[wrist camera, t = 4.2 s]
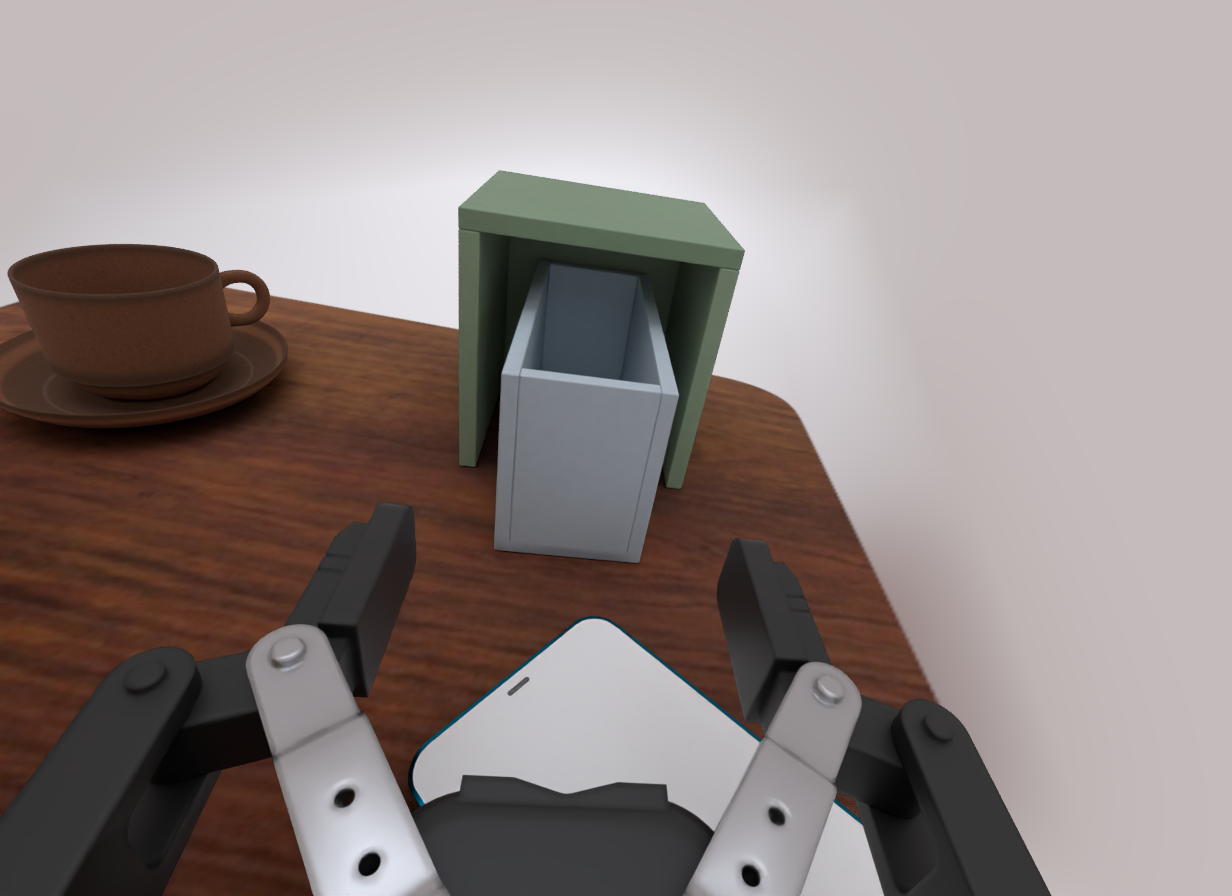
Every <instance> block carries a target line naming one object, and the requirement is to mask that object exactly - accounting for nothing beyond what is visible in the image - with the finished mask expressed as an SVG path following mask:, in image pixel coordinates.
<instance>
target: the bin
mask: <svg viewBox="0 0 1232 896" xmlns="http://www.w3.org/2000/svg"><path fill="white" fill-rule="evenodd" d="M678 398H679V393H678V390H677V386H676V382H675V378H674V374H673V370H672V366H671V362H670V358H669V354H668V350H667V346H666V342H665V338H664V334H663V330H662V326H661V322H660V318H659V314H658V310H657V306H656V302H655V298H654V294H653V290H652V286H651V282H650V278H649V275H645V274H637V273H630V272H623V271H616V270H610V269H603V268H596V267H589V266H582V265H575V264H568V263H561V262H554V261H551V262H550V261H547V260H539V263H538V266H537V269H536V272H535V275H534V278H533V281H532V284H531V287H530V290H529V293H528V296H527V299H526V302H525V305H524V308H523V311H522V314H521V317H520V320H519V323H518V326H517V329H516V332H515V335H514V338H513V341H512V344H511V347H510V350H509V353H508V356H507V359H506V362H505V365H504V368H503V371H502V374H501V395H500V418H499V441H498V465H497V488H496V512H495V535H494V549H495V550H502V551H512V552H523V553H534V554H545V555H556V556H567V557H578V558H588V559H599V560H610V561H621V562H631V563H639V561H640V557H641V553H642V549H643V544H644V540H645V536H646V532H647V528H648V523H649V519H650V515H651V511H652V507H653V502H654V498H655V494H656V490H657V486H658V481H659V477H660V473H661V469H662V465H663V461H664V456H665V452H666V448H667V444H668V440H669V435H670V431H671V427H672V423H673V419H674V414H675V410H676V406H677V402H678Z"/></svg>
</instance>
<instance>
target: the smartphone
mask: <svg viewBox="0 0 1232 896" xmlns="http://www.w3.org/2000/svg"><path fill="white" fill-rule="evenodd" d="M760 741H761V739H759V738H758V737H757V736H756V735H754V734H753V733H752V732H751V731H750V730H748V729H747V728H746V727H745V726H743V725H742V724H741V723H740V722H738V721H737V720H736V719H735V718H733V717H732V716H731V715H730V714H728V713H727V712H726V711H725V710H723V709H722V708H721V707H720V706H718V705H717V704H716V703H715V702H713V701H712V700H711V699H710V698H708V697H707V696H706V695H705V694H703V693H702V692H701V691H700V690H698V689H697V688H696V687H695V686H693V685H692V684H691V683H690V682H688V681H687V680H686V679H685V678H683V677H682V676H681V675H680V674H678V673H677V672H676V671H675V670H673V669H672V668H671V667H670V666H668V665H667V664H666V663H665V662H663V661H662V660H661V659H660V658H658V657H657V656H656V655H655V654H653V653H652V652H651V651H650V650H649V649H647V648H646V647H645V646H644V645H642V644H641V643H640V642H639V641H637V640H636V639H635V638H634V637H632V636H631V635H630V634H629V633H627V632H626V631H625V630H624V629H622V628H621V627H620V626H618V625H617V624H615V623H614V622H612V621H611V620H609V619H607V618H603V617H598V616H589V617H584V618H581V619H579V620H578V621H576V622H574V623H573V624H572V625H570V626H569V627H568V628H567V629H565V630H564V631H563V632H562V633H560V634H559V635H558V636H557V637H556V638H554V639H553V640H552V641H551V642H549V643H548V644H547V645H546V646H544V647H543V648H542V649H541V650H539V651H538V652H537V653H536V654H534V655H533V656H532V657H531V658H529V659H528V660H527V661H526V662H524V663H523V664H522V665H521V666H519V667H518V668H517V669H516V670H514V671H513V672H512V673H511V674H510V675H508V676H507V677H506V678H505V679H503V680H502V681H501V682H500V683H498V684H497V685H496V686H495V687H493V688H492V689H491V690H490V691H488V692H487V693H486V694H485V695H483V696H482V697H481V698H480V699H478V700H477V701H476V702H475V703H473V704H472V705H471V706H470V707H468V708H467V709H466V710H465V711H464V712H462V713H461V714H460V715H459V716H457V717H456V718H455V719H454V720H452V721H451V722H450V723H449V724H447V725H446V726H445V727H444V728H442V729H441V730H440V731H439V732H437V733H436V734H435V735H434V736H432V737H431V738H430V739H429V740H427V741H426V742H425V743H424V744H423V745H422V746H421V747H420V748H419V749H418V751H417V752H416V754H415V755H414V757H413V760H412V762H411V765H410V768H409V774H408V786H409V797H410V802H411V805H412V806H413V808H414V810H416V809H418V808H419V807H421V806H422V805H424V804H426V803H428V802H430V801H432V800H434V799H436V798H438V797H441V796H443V795H446V794H449V793H453V792H457V791H460V786H461V781H462V776H463V775H479V776H500V777H515V778H518V779H521V780H524V781H527V782H530V783H533V784H536V785H539V786H542V787H545V788H548V789H551V790H554V791H557V792H560V793H564V794H569V793H574V792H578V791H583V790H587V789H591V788H595V787H599V786H604V785H608V784H612V783H616V782H627V783H648V784H667V794H668V801H670V802H673V803H675V804H677V805H679V806H681V807H683V808H685V809H687V810H689V811H690V812H692V813H693V814H695V815H696V816H698V817H699V818H700V819H701V820H702V821H704V822H705V823H706V824H707V825H708V826H709V827H710V828H711V829H712V830H713V831H714V830H715V828H716V826H717V824H718V823H719V821H720V819H721V817H722V815H723V813H724V811H725V809H726V807H727V805H728V803H729V801H730V800H731V798H732V796H733V794H734V792H735V790H736V788H737V786H738V784H739V782H740V780H741V778H742V776H743V774H744V772H745V770H746V768H747V767H748V765H749V763H750V761H751V759H752V757H753V755H754V753H755V751H756V749H757V747H758V745H759V743H760ZM800 896H884V894H883V891H882V887H881V884H880V881H879V878H878V874H877V871H876V868H875V864H874V861H873V858H872V855H871V851H870V848H869V845H868V841H867V838H866V835H865V832H864V828H863V825H862V822H861V820H860V819H859V818H858V817H857V816H856V815H854V814H853V813H852V812H851V811H849V810H848V809H847V808H846V807H844V806H843V805H842V804H841V803H839V802H838V801H837V800H836V799H834V802H833V805H832V808H831V810H830V813H829V816H828V819H827V822H826V825H825V827H824V830H823V833H822V836H821V839H820V842H819V844H818V847H817V850H816V853H815V856H814V859H813V861H812V864H811V867H810V870H809V873H808V876H807V878H806V881H805V884H804V887H803V890H802V893H801V895H800Z"/></svg>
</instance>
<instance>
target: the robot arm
mask: <svg viewBox="0 0 1232 896" xmlns="http://www.w3.org/2000/svg"><path fill="white" fill-rule="evenodd" d="M415 562H416V539H415V522H414V509H413V507H412V506H408V505H398V504H387V503H379V504H378V506H377V507H376V509H375V511H374V513H373V515H372V517H371V519H370V521H369V523H358V522H353V523H352V524H350V525H349V526H348V527H347V528H345V529H344V530H343V531H342V532H340V533H339V534H338V535H337V536H335V538H334V540H333V542H332V543H331V545H330V547H329V549H328V550H327V552H326V556H325V557H323V559H322V561H321V563H320V564H319V566H318V570H317V571H315V573H314V575H313V577H312V578H311V580H310V582H309V584H308V585H307V587H306V589H305V591H304V592H303V594H302V596H301V598H300V599H299V601H298V603H297V605H296V606H295V608H294V610H293V612H292V613H291V615H290V617H289V619H288V620H287V622H286V624H285V625H284V627H282V628H279V629H277V630H275V631H273V632H271V633H269V634H267V635H266V636H264V637H263V638H262V639H260V640H259V641H258V642H257V643H256V644H255V645H254V647H253V648H252V649H251V650H249V651H246V652H243V653H239V654H234V655H229V656H224V657H219V658H214V659H208V660H203V661H198V662H195V660H194V658H193V657H192V655H191V654H190V653H189V652H188V651H186V650H184V649H181V648H177V647H160V648H154V649H150V650H147V651H144V652H141V653H138V654H136V655H134V656H132V657H130V658H128V659H127V660H125V661H123V662H122V663H120V664H119V665H118V666H116V667H115V668H114V669H113V670H112V671H111V672H110V673H108V675H107V676H106V677H105V678H104V679H103V681H102V682H101V683H100V685H99V686H98V687H97V689H96V690H95V691H94V693H93V694H92V695H91V697H90V698H89V699H88V701H87V702H86V703H85V705H84V706H83V707H82V709H81V710H80V712H79V713H78V714H77V716H76V717H75V718H74V720H73V721H72V722H71V724H70V725H69V726H68V728H67V729H66V730H65V732H64V733H63V734H62V736H61V737H60V738H59V740H58V741H57V742H56V744H55V745H54V746H53V748H52V749H51V750H50V752H49V753H48V755H47V756H46V757H45V759H44V760H43V761H42V763H41V764H40V765H39V767H38V768H37V769H36V771H35V772H34V773H33V775H32V776H31V777H30V779H29V780H28V781H27V783H26V784H25V785H24V787H23V788H22V789H21V791H20V792H19V793H18V795H17V796H16V798H15V799H14V800H13V802H12V803H11V804H10V806H9V807H8V808H7V810H6V811H5V812H4V814H3V815H2V816H1V818H0V896H161V895H162V893H163V891H164V889H165V887H166V885H167V883H168V881H169V879H170V877H171V875H172V872H173V870H174V868H175V866H176V864H177V862H178V860H179V858H180V856H181V854H182V852H183V849H184V847H185V845H186V843H187V841H188V839H189V837H190V835H191V833H192V831H193V829H194V827H195V824H196V822H197V820H198V818H199V816H200V814H201V812H202V810H203V808H204V806H205V804H206V801H207V799H208V797H209V795H210V793H211V791H212V789H213V787H214V785H215V783H216V781H217V778H218V776H219V774H220V772H221V770H223V769H227V768H231V767H235V766H239V765H243V764H247V763H251V762H255V761H258V760H262V759H266V758H270V757H272V758H273V762H274V766H275V769H276V772H277V776H278V779H279V782H280V786H281V789H282V792H283V796H284V799H285V802H286V806H287V809H288V812H289V815H290V819H291V822H292V825H293V829H294V832H295V835H296V839H297V842H298V845H299V849H300V852H301V855H302V859H303V862H304V865H305V869H306V872H307V875H308V878H309V882H310V885H311V888H312V892H313V895H314V896H800V895H801V893H802V890H803V887H804V884H805V881H806V878H807V876H808V873H809V870H810V867H811V864H812V861H813V859H814V856H815V853H816V850H817V847H818V844H819V842H820V839H821V836H822V833H823V830H824V827H825V825H826V822H827V819H828V816H829V813H830V810H831V808H832V805H833V802H834V799H835V796H836V793H837V792H838V793H841V794H843V795H846V796H848V797H851V798H853V799H855V802H856V805H857V809H858V812H859V815H860V818H861V822H862V825H863V828H864V832H865V835H866V838H867V841H868V845H869V848H870V851H871V855H872V858H873V861H874V864H875V868H876V871H877V874H878V878H879V881H880V884H881V887H882V891H883V894H884V896H1051V894H1050V892H1049V890H1048V888H1047V886H1046V884H1045V882H1044V880H1043V878H1042V876H1041V874H1040V872H1039V871H1038V868H1037V867H1036V865H1035V863H1034V861H1033V859H1032V857H1031V855H1030V853H1029V851H1028V849H1027V847H1026V845H1025V843H1024V841H1023V839H1022V837H1021V836H1020V833H1019V831H1018V829H1017V827H1016V826H1015V823H1014V822H1013V820H1012V818H1011V816H1010V814H1009V812H1008V810H1007V808H1006V806H1005V804H1004V802H1003V800H1002V798H1001V796H1000V794H999V792H998V790H997V788H996V786H995V784H994V782H993V781H992V778H991V777H990V775H989V773H988V771H987V769H986V767H985V765H984V763H983V761H982V759H981V757H980V755H979V753H978V751H977V749H976V747H975V745H974V743H973V741H972V739H971V737H970V735H969V734H968V732H967V730H966V729H965V727H964V726H963V724H962V723H961V722H960V721H959V720H958V719H957V718H956V717H955V716H954V715H953V714H952V713H951V712H949V711H948V710H947V709H945V708H944V707H942V706H940V705H938V704H936V703H934V702H931V701H928V700H924V699H913V700H910V701H908V702H907V703H906V704H905V705H904V706H903V708H902V709H901V710H900V709H897V708H894V707H892V706H889V705H886V704H884V703H881V702H878V701H875V700H873V699H870V698H868V697H865V696H863V695H861V694H859V691H858V689H857V687H856V686H855V684H854V683H853V682H852V680H851V679H850V678H849V677H848V676H847V675H845V674H844V673H843V672H842V671H840V670H839V669H837V668H835V667H833V666H832V664H831V662H830V659H829V657H828V654H827V652H826V649H825V647H824V644H823V642H822V639H821V637H820V634H819V632H818V629H817V627H816V624H815V622H814V619H813V617H812V614H811V613H809V610H810V609H809V607H808V604H807V602H806V599H804V594H803V592H802V589H801V587H800V584H799V582H798V579H797V578H796V577H795V575H794V574H793V573H792V572H791V571H790V570H789V569H788V567H787V566H786V565H785V564H784V563H780V562H773V559H772V557H771V554H770V551H769V548H768V546H767V544H766V542H765V541H761V540H751V539H741V538H735V539H734V540H733V541H732V544H731V546H730V549H729V552H728V555H727V558H726V560H725V563H724V566H723V569H722V572H721V575H720V577H719V581H718V586H717V602H718V607H719V611H720V616H721V620H722V625H723V629H724V633H725V638H726V642H727V646H728V651H729V655H730V659H731V664H732V668H733V672H734V677H735V681H736V686H737V690H738V694H739V699H740V703H741V707H742V712H743V716H744V720H745V722H754V723H761V725H762V728H763V732H764V736H763V738H762V739H761V741H760V743H759V745H758V747H757V749H756V751H755V753H754V755H753V757H752V759H751V761H750V763H749V765H748V767H747V768H746V770H745V772H744V774H743V776H742V778H741V780H740V782H739V784H738V786H737V788H736V790H735V792H734V794H733V796H732V798H731V800H730V801H729V803H728V805H727V807H726V809H725V811H724V813H723V815H722V817H721V819H720V821H719V823H718V824H717V826H716V828H715V830H714V831H713V830H712V829H711V828H710V827H709V826H708V825H707V824H706V823H705V822H704V821H702V820H701V819H700V818H699V817H698V816H696V815H695V814H693V813H692V812H690V811H689V810H687V809H685V808H683V807H681V806H679V805H677V804H675V803H673V802H670V801H668V794H667V784H648V783H627V782H616V783H612V784H608V785H604V786H599V787H595V788H591V789H587V790H583V791H578V792H574V793H569V794H564V793H560V792H557V791H554V790H551V789H548V788H545V787H542V786H539V785H536V784H533V783H530V782H527V781H524V780H521V779H518V778H515V777H500V776H479V775H463V776H462V781H461V786H460V791H457V792H453V793H449V794H446V795H443V796H441V797H438V798H436V799H434V800H432V801H430V802H428V803H426V804H424V805H422V806H421V807H419V808H418V809H416V810H415V811H413V812H412V813H410V811H409V809H408V807H407V804H406V802H405V800H404V798H403V795H402V793H401V791H400V789H399V786H398V784H397V782H396V780H395V778H394V775H393V773H392V771H391V769H390V766H389V764H388V762H387V760H386V757H385V755H384V753H383V751H382V748H381V746H380V744H379V742H378V739H377V737H376V735H375V733H374V731H373V728H372V726H371V724H370V722H369V720H368V718H367V716H366V714H365V713H364V712H363V711H362V712H360V710H359V709H358V706H357V704H356V702H355V700H354V697H368V695H369V692H370V690H371V687H372V684H373V682H374V679H375V676H376V673H377V671H378V668H379V665H380V663H381V660H382V657H383V655H384V652H385V649H386V646H387V644H388V641H389V638H390V636H391V633H392V630H393V628H394V625H395V622H396V619H397V617H398V614H399V611H400V609H401V606H402V603H403V601H404V598H405V595H406V593H407V590H408V587H409V584H410V582H411V579H412V576H413V573H414V568H415Z"/></svg>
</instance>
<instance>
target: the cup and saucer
mask: <svg viewBox="0 0 1232 896" xmlns="http://www.w3.org/2000/svg"><path fill="white" fill-rule="evenodd" d="M8 277H9V280H10V282H11V284H12V286H13V289H14V290H15V293H16V295H17V297H18V299H19V302H20V304H21V306H22V308H23V310H24V312H25V315H26V317H27V319H28V321H29V323H30V325H31V328H32V331H29V332H27V333H24V334H22V335H19V336H17V337H14V338H12V339H10V340H8V341H6V342H4V343H2V344H1V345H0V408H2V409H4V410H6V411H8V412H11V413H14V414H16V415H20V416H24V417H27V418H30V419H33V420H37V421H41V422H45V423H51V424H56V425H63V426H71V427H84V428H126V427H139V426H149V425H156V424H163V423H169V422H175V421H180V420H184V419H189V418H193V417H197V416H201V415H205V414H208V413H211V412H214V411H217V410H220V409H223V408H226V407H228V406H231V405H233V404H235V403H238V402H240V401H242V400H244V399H246V398H248V397H250V396H251V395H253V394H255V393H257V392H258V391H260V390H261V389H262V388H264V387H265V386H266V385H267V384H269V383H270V382H271V381H272V380H273V379H274V378H275V377H276V376H277V375H278V374H279V373H280V372H281V370H282V369H283V367H284V366H285V363H286V361H287V354H288V346H287V342H286V340H285V338H284V337H283V335H282V334H281V333H280V332H278V331H277V330H276V329H274V328H273V327H271V326H269V325H267V324H265V323H263V322H261V321H258V320H260V319H261V318H262V317H263V316H264V315H265V313H266V312H267V310H268V308H269V304H270V293H269V290H268V288H267V286H266V284H265V283H264V281H263V280H262V279H261V278H259V277H258V276H256V275H255V274H253V273H251V272H248V271H244V270H230V271H224V272H221V273H219V269H218V265H217V264H216V262H215V261H214V260H212V259H211V258H209V257H207V256H205V255H203V254H200V253H197V252H194V251H190V250H185V249H180V248H174V247H167V246H157V245H142V244H106V245H89V246H79V247H71V248H64V249H58V250H53V251H48V252H43V253H39V254H36V255H32V256H29V257H27V258H24V259H22V260H20V261H18V262H16V263H15V264H13V265H12V266H11V267H10V268H9V270H8ZM233 283H247V284H249V285H251V286H252V287H253V288H254V290H255V292H256V294H257V302H256V304H255V306H254V308H253V309H252V310H251V311H249V312H247V313H244V314H232V313H228V311H227V306H226V302H225V297H224V292H223V288H225V287H226V286H228V285H229V284H233Z"/></svg>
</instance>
